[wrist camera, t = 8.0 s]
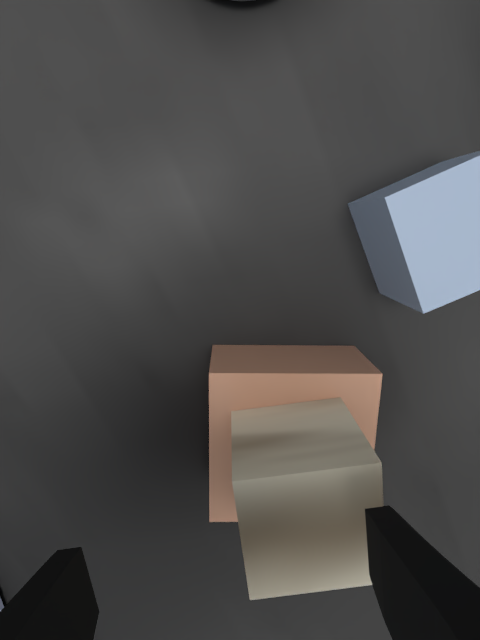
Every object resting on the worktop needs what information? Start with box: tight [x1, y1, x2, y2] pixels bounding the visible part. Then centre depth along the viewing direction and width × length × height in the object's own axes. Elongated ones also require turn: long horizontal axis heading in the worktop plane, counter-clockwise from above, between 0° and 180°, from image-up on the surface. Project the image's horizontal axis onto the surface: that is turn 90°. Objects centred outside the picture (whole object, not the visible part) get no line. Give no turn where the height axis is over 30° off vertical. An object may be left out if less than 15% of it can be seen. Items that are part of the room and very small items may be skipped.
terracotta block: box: [209, 345, 383, 522], centre depth 19 cm, size 7×7×4 cm
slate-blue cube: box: [348, 151, 480, 314], centre depth 16 cm, size 4×4×4 cm
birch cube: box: [231, 397, 383, 600], centre depth 15 cm, size 4×4×4 cm
